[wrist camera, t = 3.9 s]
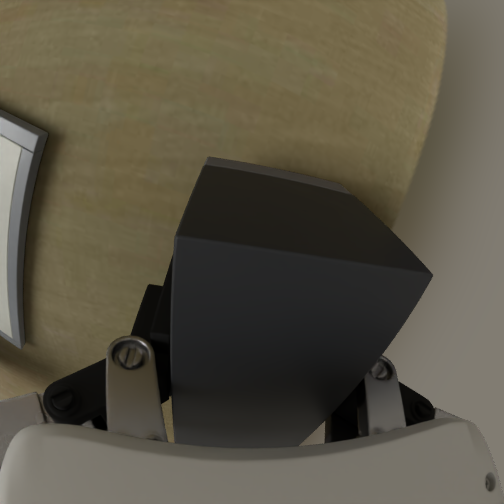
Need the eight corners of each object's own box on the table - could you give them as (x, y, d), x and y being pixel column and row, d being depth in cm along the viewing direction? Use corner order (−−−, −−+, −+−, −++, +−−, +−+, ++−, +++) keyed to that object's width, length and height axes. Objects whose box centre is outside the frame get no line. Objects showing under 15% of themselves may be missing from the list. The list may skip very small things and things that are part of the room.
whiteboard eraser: (207, 156, 8) (173, 235, 4) (340, 183, 9) (434, 274, 4) (184, 357, 13) (175, 455, 8) (270, 365, 14) (284, 458, 9)
